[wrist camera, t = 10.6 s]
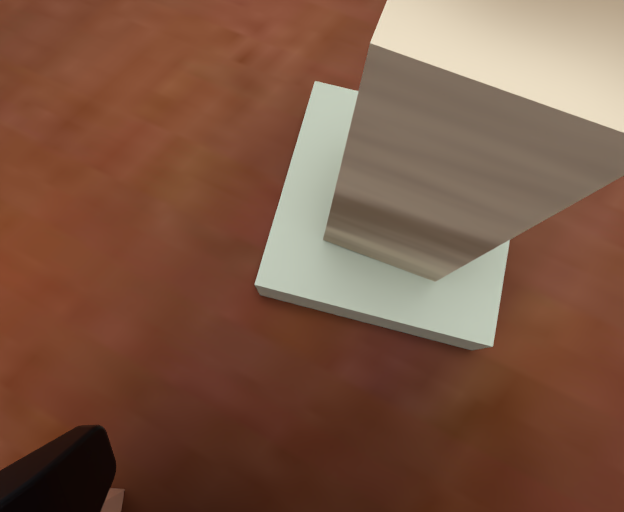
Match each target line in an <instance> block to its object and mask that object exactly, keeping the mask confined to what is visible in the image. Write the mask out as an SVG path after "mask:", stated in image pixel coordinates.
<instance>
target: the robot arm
mask: <svg viewBox="0 0 624 512" xmlns="http://www.w3.org/2000/svg"><path fill="white" fill-rule="evenodd" d="M115 472H116V461H115V457H114V454H113V451H112V448H111V445H110V442H109V439H108V435H107V432H106V430H105V429H104V428H103V427H102V426H100V425H81V426H78V427H75V428H74V429H72V430H70V431H68V432H67V433H65V434H63V435H61V436H60V437H58V438H56V439H55V440H53V441H51V442H49V443H48V444H46V445H44V446H42V447H41V448H39V449H37V450H35V451H34V452H32V453H30V454H28V455H27V456H25V457H23V458H21V459H20V460H18V461H16V462H14V463H13V464H11V465H9V466H7V467H6V468H4V469H2V470H1V471H0V512H101V510H102V507H103V505H104V502H105V500H106V497H107V494H108V492H109V489H110V487H111V484H112V482H113V479H114V476H115Z"/></svg>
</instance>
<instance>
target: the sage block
mask: <svg viewBox="0 0 624 512" xmlns="http://www.w3.org/2000/svg"><path fill="white" fill-rule="evenodd" d="M358 92H359V91H355V90H351V89H346V88H342V87H338V86H334V85H330V84H325V83H321V82H317V81H315V83H314V86H313V89H312V93H311V96H310V99H309V103H308V106H307V110H306V113H305V116H304V120H303V123H302V126H301V130H300V133H299V136H298V140H297V143H296V147H295V150H294V153H293V157H292V160H291V163H290V167H289V170H288V174H287V177H286V180H285V184H284V187H283V190H282V194H281V197H280V201H279V204H278V207H277V211H276V214H275V217H274V221H273V224H272V227H271V231H270V234H269V238H268V241H267V244H266V248H265V251H264V254H263V258H262V261H261V265H260V268H259V271H258V275H257V278H256V281H255V287H256V288H257V290H258V292H259V294H260V295H262V296H266V297H270V298H273V299H277V300H281V301H285V302H289V303H293V304H296V305H300V306H304V307H308V308H312V309H316V310H319V311H323V312H327V313H331V314H335V315H339V316H342V317H346V318H350V319H354V320H358V321H361V322H365V323H369V324H373V325H377V326H381V327H384V328H388V329H392V330H396V331H400V332H404V333H407V334H411V335H415V336H419V337H423V338H426V339H430V340H434V341H438V342H442V343H446V344H449V345H453V346H457V347H461V348H465V349H469V350H476V349H483V348H489V347H493V343H494V337H495V330H496V324H497V318H498V311H499V305H500V298H501V292H502V286H503V279H504V273H505V267H506V260H507V254H508V248H509V241H510V240H508V241H507V242H505V243H503V244H501V245H500V246H498V247H496V248H494V249H492V250H491V251H489V252H487V253H485V254H484V255H482V256H480V257H478V258H476V259H475V260H473V261H471V262H469V263H468V264H466V265H464V266H462V267H461V268H459V269H457V270H455V271H453V272H452V273H450V274H448V275H446V276H445V277H443V278H441V279H439V280H437V281H436V282H434V281H432V280H429V279H426V278H424V277H421V276H418V275H416V274H413V273H410V272H408V271H405V270H402V269H400V268H397V267H394V266H392V265H389V264H386V263H384V262H381V261H378V260H376V259H373V258H370V257H368V256H365V255H362V254H360V253H357V252H354V251H352V250H349V249H346V248H344V247H341V246H338V245H336V244H333V243H330V242H328V241H325V240H323V238H324V234H325V229H326V225H327V221H328V217H329V213H330V208H331V204H332V200H333V196H334V192H335V188H336V183H337V179H338V175H339V171H340V167H341V163H342V158H343V154H344V150H345V146H346V142H347V138H348V133H349V129H350V125H351V121H352V117H353V112H354V108H355V104H356V100H357V96H358Z"/></svg>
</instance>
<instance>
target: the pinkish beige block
mask: <svg viewBox="0 0 624 512" xmlns="http://www.w3.org/2000/svg"><path fill="white" fill-rule="evenodd" d="M124 491H125V489H116V488H110V489H109V492H108V494H107V497H106V500H105V502H104V505H103V507H102V510H101V512H121V509H122V503H123V497H124Z"/></svg>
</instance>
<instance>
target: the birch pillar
mask: <svg viewBox="0 0 624 512" xmlns="http://www.w3.org/2000/svg"><path fill="white" fill-rule="evenodd" d="M622 176H624V0H387V2H386V5H385V7H384V10H383V12H382V15H381V17H380V20H379V22H378V25H377V27H376V30H375V32H374V35H373V37H372V40H371V42H370V46H369V50H368V54H367V58H366V62H365V67H364V71H363V75H362V79H361V83H360V87H359V92H358V96H357V100H356V104H355V108H354V112H353V117H352V121H351V125H350V129H349V133H348V138H347V142H346V146H345V150H344V154H343V158H342V163H341V167H340V171H339V175H338V179H337V183H336V188H335V192H334V196H333V200H332V204H331V208H330V213H329V217H328V221H327V225H326V229H325V234H324V238H323V240H325V241H328V242H330V243H333V244H336V245H338V246H341V247H344V248H346V249H349V250H352V251H354V252H357V253H360V254H362V255H365V256H368V257H370V258H373V259H376V260H378V261H381V262H384V263H386V264H389V265H392V266H394V267H397V268H400V269H402V270H405V271H408V272H410V273H413V274H416V275H418V276H421V277H424V278H426V279H429V280H432V281H434V282H436V281H437V280H439V279H441V278H443V277H445V276H446V275H448V274H450V273H452V272H453V271H455V270H457V269H459V268H461V267H462V266H464V265H466V264H468V263H469V262H471V261H473V260H475V259H476V258H478V257H480V256H482V255H484V254H485V253H487V252H489V251H491V250H492V249H494V248H496V247H498V246H500V245H501V244H503V243H505V242H507V241H508V240H510V239H512V238H514V237H515V236H517V235H519V234H521V233H523V232H524V231H526V230H528V229H530V228H531V227H533V226H535V225H537V224H539V223H540V222H542V221H544V220H546V219H547V218H549V217H551V216H553V215H554V214H556V213H558V212H560V211H562V210H563V209H565V208H567V207H569V206H570V205H572V204H574V203H576V202H578V201H579V200H581V199H583V198H585V197H586V196H588V195H590V194H592V193H594V192H595V191H597V190H599V189H601V188H602V187H604V186H606V185H608V184H609V183H611V182H613V181H615V180H617V179H618V178H620V177H622Z"/></svg>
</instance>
